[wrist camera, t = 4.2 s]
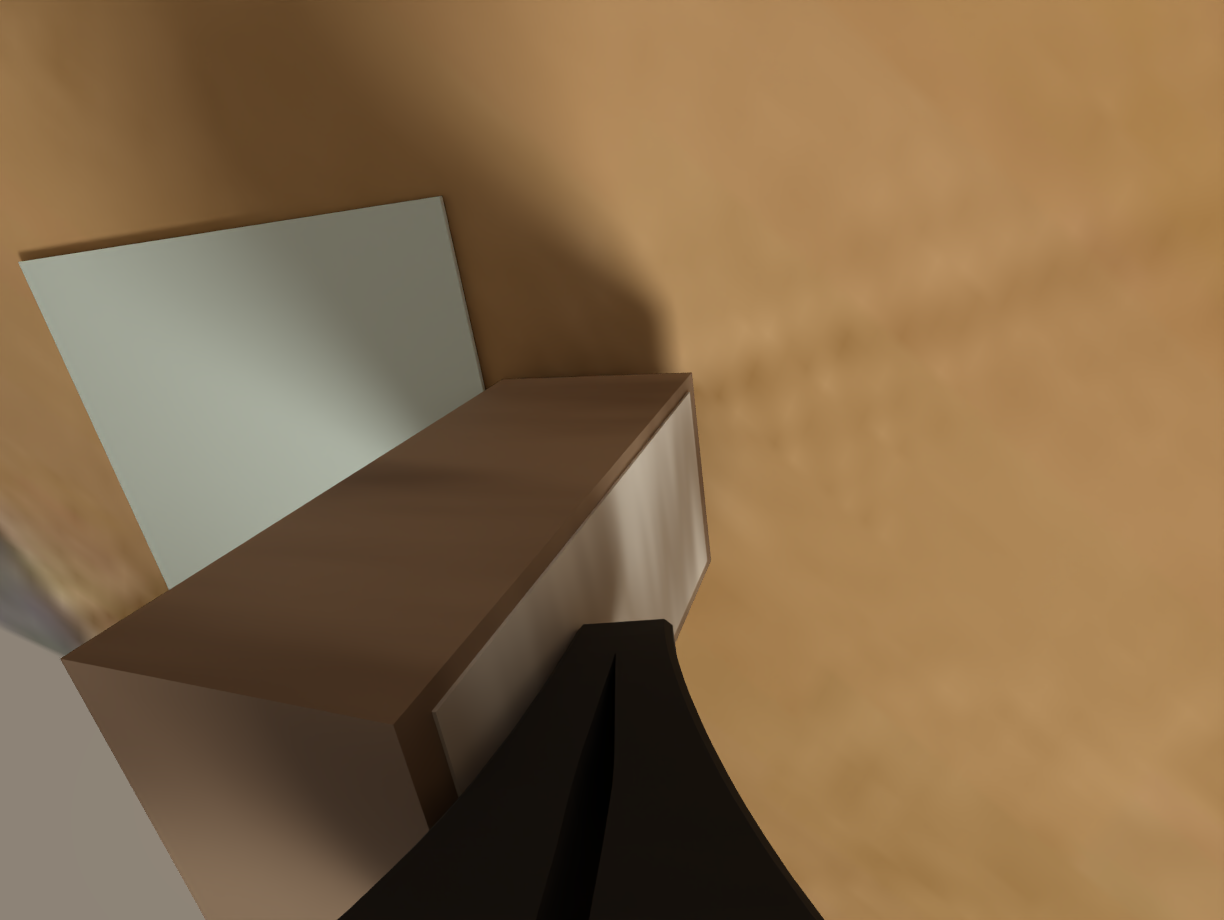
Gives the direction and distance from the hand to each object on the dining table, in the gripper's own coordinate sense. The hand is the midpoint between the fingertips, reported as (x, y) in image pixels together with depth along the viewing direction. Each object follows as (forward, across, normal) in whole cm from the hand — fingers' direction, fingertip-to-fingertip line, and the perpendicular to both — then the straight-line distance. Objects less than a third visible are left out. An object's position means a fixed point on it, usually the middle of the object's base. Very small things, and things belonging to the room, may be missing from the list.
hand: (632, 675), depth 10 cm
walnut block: (+8, +1, 0) cm, 8 cm away
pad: (+8, +10, 0) cm, 13 cm away
